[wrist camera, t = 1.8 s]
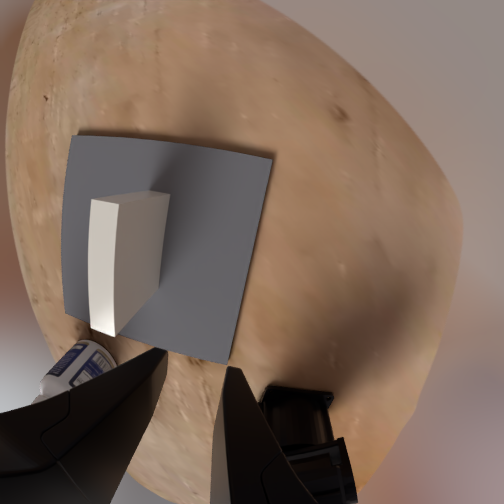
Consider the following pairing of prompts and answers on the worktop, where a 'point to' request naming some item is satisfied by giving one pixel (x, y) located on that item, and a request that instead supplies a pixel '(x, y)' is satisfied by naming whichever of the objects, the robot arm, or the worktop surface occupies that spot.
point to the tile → (124, 256)
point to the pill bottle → (75, 368)
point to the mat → (171, 235)
